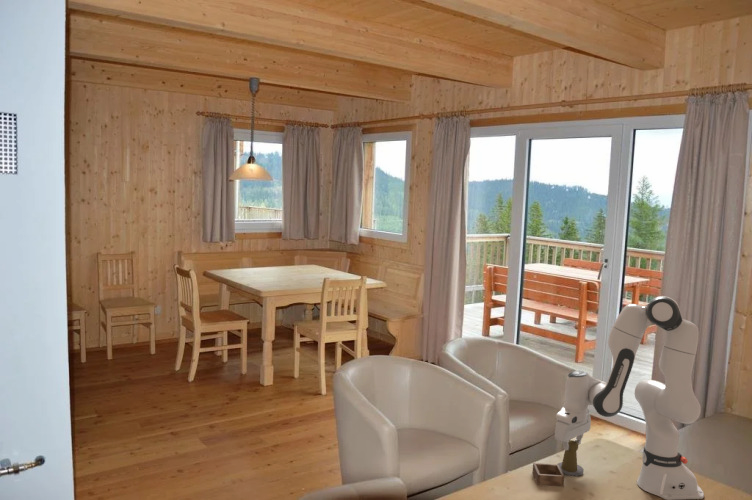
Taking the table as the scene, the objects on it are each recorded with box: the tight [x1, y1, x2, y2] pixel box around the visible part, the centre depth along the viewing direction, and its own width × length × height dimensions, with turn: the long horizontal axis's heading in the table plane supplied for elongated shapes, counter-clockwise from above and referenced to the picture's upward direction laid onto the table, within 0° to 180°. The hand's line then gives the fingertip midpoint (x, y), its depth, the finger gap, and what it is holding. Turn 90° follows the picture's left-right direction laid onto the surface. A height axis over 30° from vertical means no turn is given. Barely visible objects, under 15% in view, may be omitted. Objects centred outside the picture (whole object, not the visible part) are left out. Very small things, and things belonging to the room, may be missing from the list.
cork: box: [561, 439, 579, 472], centre depth 241 cm, size 6×6×11 cm
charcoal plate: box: [557, 461, 585, 477], centre depth 242 cm, size 10×10×1 cm
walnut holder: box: [532, 462, 566, 488], centre depth 234 cm, size 10×10×4 cm
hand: (572, 446), depth 241 cm, fingers open, 7 cm apart
